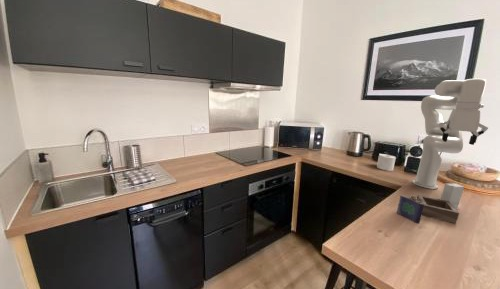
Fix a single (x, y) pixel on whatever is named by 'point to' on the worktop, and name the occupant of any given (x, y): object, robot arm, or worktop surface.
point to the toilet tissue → (386, 162)
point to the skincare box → (452, 194)
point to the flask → (410, 208)
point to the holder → (438, 209)
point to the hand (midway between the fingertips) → (457, 142)
